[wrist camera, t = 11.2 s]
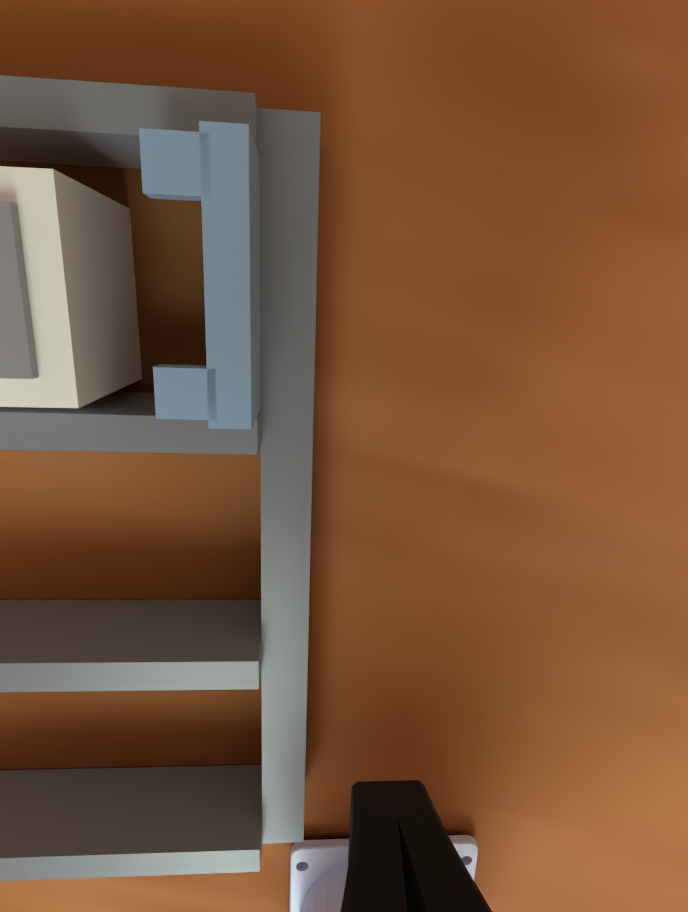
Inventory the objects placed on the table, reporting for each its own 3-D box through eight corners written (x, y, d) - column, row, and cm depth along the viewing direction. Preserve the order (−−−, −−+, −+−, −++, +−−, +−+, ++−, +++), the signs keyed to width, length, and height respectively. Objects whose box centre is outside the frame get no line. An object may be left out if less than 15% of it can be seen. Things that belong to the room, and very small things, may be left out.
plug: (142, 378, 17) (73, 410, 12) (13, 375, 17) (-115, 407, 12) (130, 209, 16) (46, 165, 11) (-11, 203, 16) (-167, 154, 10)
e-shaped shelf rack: (304, 783, 22) (302, 917, 17) (-14, 791, 21) (-109, 935, 16) (318, 141, 16) (323, 69, 11) (-139, 113, 15) (-357, 20, 10)
